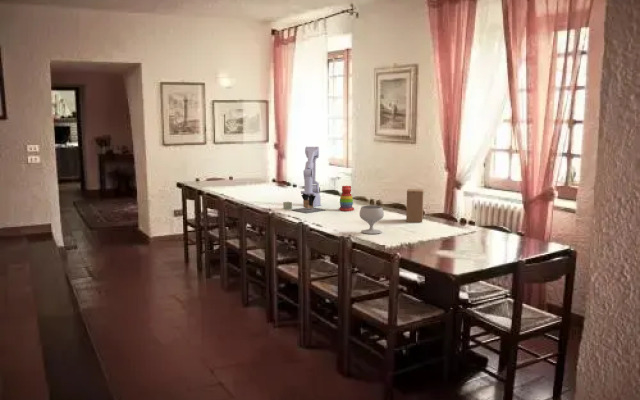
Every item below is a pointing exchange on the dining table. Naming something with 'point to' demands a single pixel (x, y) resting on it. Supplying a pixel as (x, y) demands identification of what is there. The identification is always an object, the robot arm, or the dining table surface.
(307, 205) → the walnut block
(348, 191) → the stacking bear
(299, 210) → the blueprint board
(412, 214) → the wooden block
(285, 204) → the sage block
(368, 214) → the chalice
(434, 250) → the dining table surface
